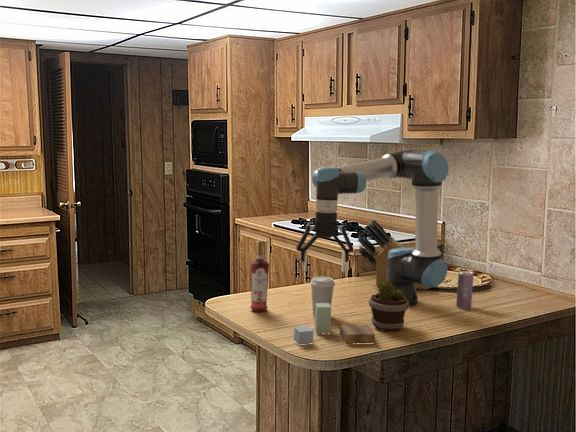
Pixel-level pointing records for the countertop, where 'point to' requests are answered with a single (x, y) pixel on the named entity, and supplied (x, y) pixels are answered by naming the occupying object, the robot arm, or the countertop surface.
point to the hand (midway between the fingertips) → (324, 270)
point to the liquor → (259, 280)
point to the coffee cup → (321, 290)
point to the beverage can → (464, 290)
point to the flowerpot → (388, 307)
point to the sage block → (322, 318)
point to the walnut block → (357, 334)
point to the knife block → (379, 251)
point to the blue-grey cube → (303, 335)
